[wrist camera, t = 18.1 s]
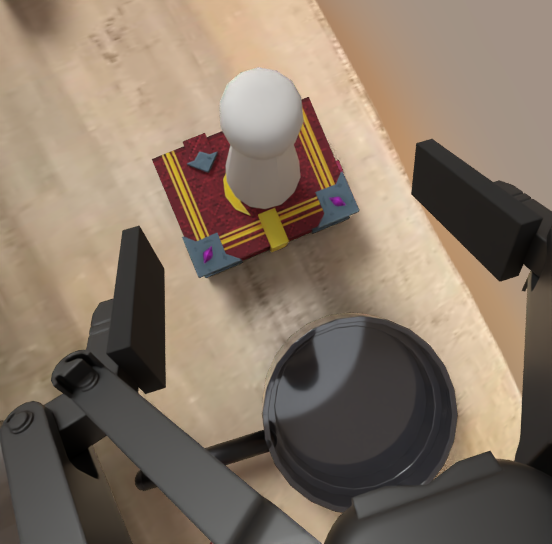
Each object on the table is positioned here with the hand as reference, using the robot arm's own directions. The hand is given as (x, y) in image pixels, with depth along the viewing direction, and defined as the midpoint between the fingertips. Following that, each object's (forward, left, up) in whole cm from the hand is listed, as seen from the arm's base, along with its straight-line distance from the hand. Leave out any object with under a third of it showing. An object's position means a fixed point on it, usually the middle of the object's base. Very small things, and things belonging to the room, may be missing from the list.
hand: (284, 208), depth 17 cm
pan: (+13, -11, -18) cm, 25 cm away
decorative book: (-3, +4, -18) cm, 19 cm away
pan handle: (+2, -20, -16) cm, 26 cm away
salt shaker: (-3, +4, -13) cm, 14 cm away
